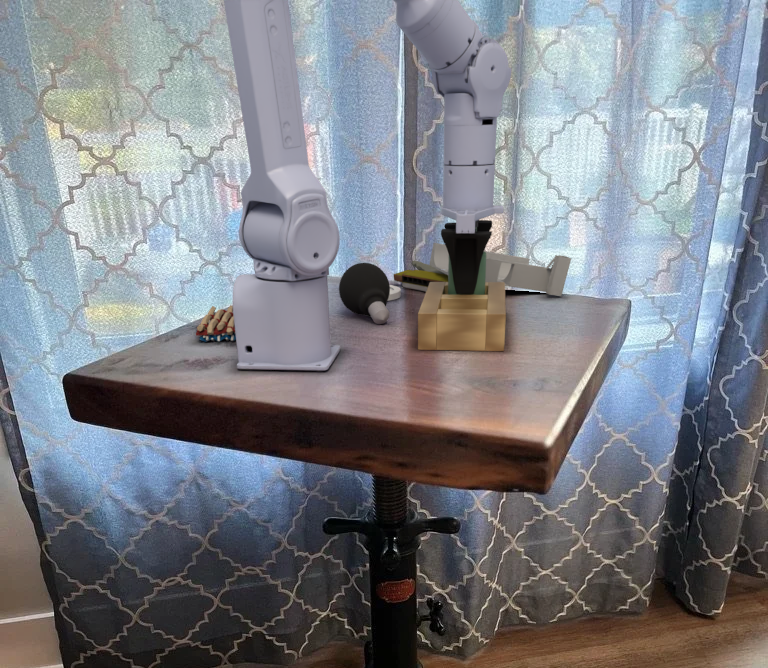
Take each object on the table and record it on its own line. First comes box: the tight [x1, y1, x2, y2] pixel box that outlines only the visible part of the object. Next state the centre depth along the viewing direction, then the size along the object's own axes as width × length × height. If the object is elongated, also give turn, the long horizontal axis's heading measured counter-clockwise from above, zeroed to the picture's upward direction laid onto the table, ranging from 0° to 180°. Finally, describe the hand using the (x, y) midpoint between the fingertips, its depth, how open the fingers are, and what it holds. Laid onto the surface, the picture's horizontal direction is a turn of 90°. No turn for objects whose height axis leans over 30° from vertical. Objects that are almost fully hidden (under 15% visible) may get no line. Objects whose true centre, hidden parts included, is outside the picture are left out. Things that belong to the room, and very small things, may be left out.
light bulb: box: [338, 262, 391, 325], centre depth 97 cm, size 6×6×10 cm
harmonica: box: [393, 269, 448, 293], centre depth 111 cm, size 15×3×2 cm, turn 41°
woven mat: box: [195, 304, 236, 343], centre depth 93 cm, size 10×11×2 cm
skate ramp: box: [428, 238, 572, 297], centre depth 109 cm, size 15×13×5 cm
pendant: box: [387, 284, 402, 302], centre depth 111 cm, size 7×11×1 cm, turn 34°
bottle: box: [448, 221, 486, 295], centre depth 92 cm, size 4×4×10 cm
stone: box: [411, 260, 447, 275], centre depth 120 cm, size 13×2×5 cm
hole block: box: [417, 282, 507, 352], centre depth 91 cm, size 9×17×4 cm, turn 173°
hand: (465, 288), depth 93 cm, fingers closed on bottle, 4 cm apart
